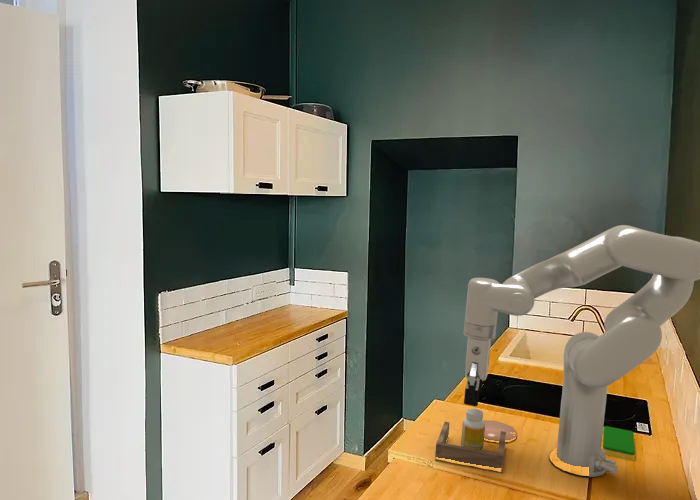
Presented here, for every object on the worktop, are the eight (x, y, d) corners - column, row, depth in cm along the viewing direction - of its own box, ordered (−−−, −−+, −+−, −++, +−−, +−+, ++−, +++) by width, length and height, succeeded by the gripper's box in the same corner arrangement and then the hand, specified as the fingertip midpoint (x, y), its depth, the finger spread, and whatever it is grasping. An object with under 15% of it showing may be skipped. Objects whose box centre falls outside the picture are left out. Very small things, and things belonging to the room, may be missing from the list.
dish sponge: (632, 439, 148) (633, 431, 148) (634, 462, 136) (635, 453, 136) (603, 433, 151) (604, 425, 151) (602, 455, 139) (603, 446, 139)
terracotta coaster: (525, 435, 147) (525, 432, 147) (499, 448, 139) (500, 445, 139) (487, 419, 156) (487, 416, 156) (460, 430, 148) (460, 428, 148)
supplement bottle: (457, 444, 140) (459, 408, 139) (476, 443, 142) (479, 406, 141) (466, 455, 135) (469, 417, 134) (487, 453, 137) (489, 415, 135)
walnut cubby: (501, 472, 127) (503, 456, 127) (435, 460, 132) (436, 444, 132) (504, 447, 140) (505, 431, 140) (443, 436, 145) (444, 421, 144)
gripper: (493, 341, 125) (485, 414, 128) (498, 323, 142) (491, 388, 144) (459, 336, 128) (452, 407, 130) (468, 319, 144) (461, 383, 146)
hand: (472, 397), depth 137 cm, fingers open, 9 cm apart
